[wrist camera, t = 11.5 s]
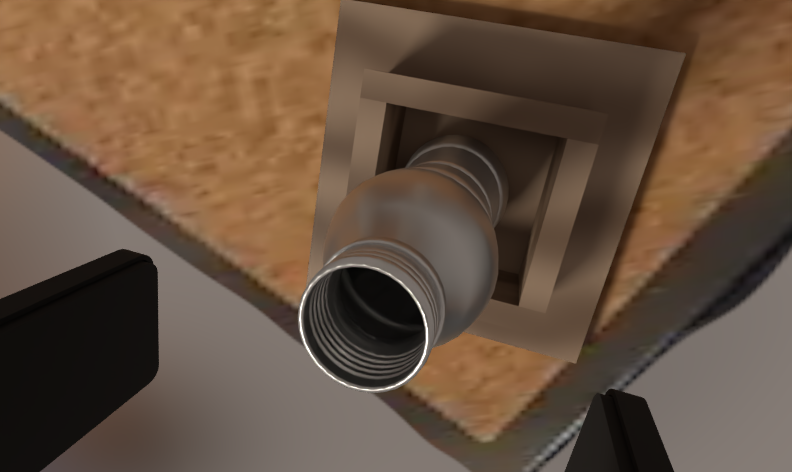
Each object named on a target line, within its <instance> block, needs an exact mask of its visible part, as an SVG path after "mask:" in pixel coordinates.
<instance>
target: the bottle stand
mask: <svg viewBox="0 0 792 472" xmlns="http://www.w3.org/2000/svg"><path fill="white" fill-rule="evenodd" d="M685 55H686V53H681V52H675V51H669V50H663V49H656V48H650V47H644V46H637V45H631V44H625V43H619V42H612V41H606V40H600V39H593V38H587V37H581V36H574V35H568V34H562V33H556V32H549V31H543V30H537V29H530V28H524V27H518V26H512V25H505V24H499V23H493V22H486V21H480V20H474V19H468V18H461V17H455V16H449V15H442V14H436V13H430V12H423V11H417V10H411V9H405V8H398V7H392V6H386V5H379V4H373V3H367V2H361V1H354V0H341V3H340V11H339V19H338V28H337V36H336V44H335V52H334V61H333V69H332V77H331V85H330V94H329V102H328V110H327V118H326V127H325V135H324V143H323V151H322V160H321V168H320V176H319V184H318V193H317V201H316V209H315V217H314V226H313V234H312V242H311V250H310V259H309V267H308V275H307V284H306V287H307V285H308V284H309V282H310V280H311V279H312V278H313V277H314V276H315V275H316V274H317V273H318V271H320V270H321V269H322V268H323V249H324V242H325V239H326V236H327V232H328V229H329V226H330V223H331V220H332V218H333V216H334V214H335V212H336V210H337V208H338V207H339V205H340V203H341V202H342V201H343V200H344V199H345V198H346V196H347V195H348V194H349V193H350V192H351V191H352V190H353V189H355V188H356V187H357V186H359V185H360V184H361V183H362V182H364V181H366V180H368V179H370V178H372V177H374V176H377V175H379V174H382V173H384V172H387V171H392V170H396V169H400V168H405V167H406V165H407V163H408V162H409V160H410V158H411V157H412V155H413V154H414V153H415V152H416V151H417V150H418V149H419V148H420V147H421V146H423V145H424V144H425V143H427V142H429V141H431V140H433V139H435V138H437V137H441V136H445V135H463V136H468V137H471V138H474V139H476V140H479V141H480V142H482V143H483V144H485V145H486V146H488V147H489V148H490V149H491V150H492V151H493V152H494V153H495V154H496V155H497V157H498V158H499V160H500V161H501V163H502V164H503V167H504V169H505V172H506V175H507V180H508V186H509V191H508V201H507V205H506V209H505V211H504V214H503V216H502V218H501V220H500V221H499V222H498V224H497V225H496V227H495V228H494V230H495V235H496V240H497V246H498V277H497V281H496V285H495V290H494V292H493V295H492V297H491V299H490V301H489V303H488V305H487V307H486V308H485V310H484V311H483V312H482V313H481V315H480V316H479V317H478V319H477V320H476V321H475V322H474V323H473V324H472V325H470V326H469V327H468V328H467V329H466V330H465V331H464V332H466V333H469V334H473V335H476V336H480V337H484V338H487V339H491V340H494V341H498V342H501V343H505V344H508V345H512V346H515V347H519V348H523V349H526V350H530V351H533V352H537V353H540V354H544V355H547V356H551V357H555V358H558V359H562V360H565V361H569V362H572V363H576V362H577V359H578V356H579V353H580V350H581V348H582V345H583V342H584V339H585V336H586V334H587V331H588V328H589V325H590V322H591V320H592V317H593V314H594V311H595V308H596V305H597V303H598V300H599V297H600V294H601V291H602V289H603V286H604V283H605V280H606V277H607V275H608V272H609V269H610V266H611V263H612V260H613V258H614V255H615V252H616V249H617V246H618V244H619V241H620V238H621V235H622V232H623V230H624V227H625V224H626V221H627V218H628V215H629V213H630V210H631V207H632V204H633V201H634V199H635V196H636V193H637V190H638V187H639V185H640V182H641V179H642V176H643V173H644V170H645V168H646V165H647V162H648V159H649V156H650V154H651V151H652V148H653V145H654V142H655V140H656V137H657V134H658V131H659V128H660V125H661V123H662V120H663V117H664V114H665V111H666V109H667V106H668V103H669V100H670V97H671V95H672V92H673V89H674V86H675V83H676V80H677V78H678V75H679V72H680V69H681V66H682V64H683V61H684V58H685Z"/></svg>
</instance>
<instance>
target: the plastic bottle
mask: <svg viewBox="0 0 792 472" xmlns="http://www.w3.org/2000/svg"><path fill="white" fill-rule="evenodd" d="M508 191H509V186H508V180H507V175H506V172H505V169H504V167H503V164H502V163H501V161H500V160H499V158H498V157H497V155H496V154H495V153H494V152H493V151H492V150H491V149H490V148H489V147H488V146H486V145H485V144H483V143H482V142H480V141H479V140H476V139H474V138H471V137H468V136H463V135H445V136H441V137H437V138H435V139H433V140H431V141H429V142H427V143H425V144H424V145H423V146H421V147H420V148H419V149H418V150H417V151H416V152H415V153H414V154H413V155H412V157H411V158H410V160H409V162H408V163H407V165H406V167H405V168H400V169H396V170H392V171H387V172H384V173H382V174H379V175H377V176H374V177H372V178H370V179H368V180H366V181H364V182H362V183H361V184H360V185H359V186H357V187H356V188H355V189H353V190H352V191H351V192H350V193H349V194H348V195H347V196H346V198H345V199H344V200H343V201H342V202H341V203H340V205H339V207H338V208H337V210H336V212H335V214H334V216H333V218H332V220H331V223H330V226H329V229H328V232H327V236H326V239H325V242H324V249H323V268H322V269H321V270H320V271H318V273H317V274H316V275H315V276H314V277H313V278H312V279H311V280H310V282H309V284H308V285H307V287H306V289H305V291H304V293H303V295H302V298H301V301H300V304H299V311H298V324H299V332H300V335H301V339H302V342H303V344H304V346H305V348H306V350H307V352H308V354H309V356H310V357H311V358H312V360H313V361H314V363H315V364H316V365H317V366H318V367H319V368H320V369H321V370H322V371H323V372H324V373H325V374H326V375H327V376H328V377H330V378H331V379H333V380H334V381H335V382H337V383H339V384H341V385H343V386H346V387H347V388H350V389H354V390H357V391H361V392H370V393H377V392H386V391H390V390H393V389H397V388H399V387H400V386H402V385H404V384H406V383H408V382H409V381H410V380H411V379H412V378H413V377H415V376H416V375H417V373H418V372H419V371H420V370H421V368H422V367H423V366H424V364H425V363H426V361H427V359H428V356H429V354H430V352H431V349H432V348H433V347H437V346H440V345H443V344H445V343H447V342H449V341H451V340H453V339H454V338H456V337H458V336H459V335H460V334H461V333H462V332H464V331H465V330H466V329H467V328H468V327H469V326H470V325H472V324H473V323H474V322H475V321H476V320H477V319H478V317H479V316H480V315H481V313H482V312H483V311H484V310H485V308H486V307H487V305H488V303H489V301H490V299H491V297H492V295H493V292H494V290H495V285H496V281H497V277H498V246H497V240H496V235H495V230H494V228H495V227H496V225H497V224H498V222H499V221H500V220H501V218H502V216H503V214H504V211H505V209H506V205H507V201H508Z"/></svg>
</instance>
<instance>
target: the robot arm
mask: <svg viewBox="0 0 792 472" xmlns="http://www.w3.org/2000/svg"><path fill="white" fill-rule="evenodd" d="M158 349H159V346H158V272H157V268H156V266H155V265H154V264H153V261H152V259H151V258H150V257H149V256H147V255H144V254H140V253H136V252H133V251H130V250H126V249H121V250H117V251H115V252H113V253H110V254H108V255H105V256H103V257H101V258H98V259H96V260H93V261H91V262H88V263H86V264H84V265H81V266H79V267H76V268H74V269H71V270H69V271H67V272H64V273H62V274H59V275H57V276H55V277H52V278H50V279H48V280H45V281H42V282H40V283H38V284H35V285H33V286H31V287H28V288H26V289H23V290H21V291H18V292H16V293H14V294H11V295H9V296H6V297H4V298H1V299H0V472H40V471H41V470H42V469H44V468H45V467H46V466H47V465H49V464H50V463H51V462H52V461H54V460H55V459H56V458H57V457H59V456H60V455H61V454H62V453H63V452H65V451H66V450H67V449H68V448H70V447H71V446H72V445H73V444H75V443H76V442H77V441H78V440H80V439H81V438H82V437H83V436H85V435H86V434H87V433H88V432H89V431H91V430H92V429H93V428H95V427H96V426H97V425H98V424H99V423H101V422H102V421H103V420H104V419H106V418H107V417H108V416H109V415H111V414H112V413H113V412H114V411H116V410H117V409H118V408H119V407H120V406H122V405H123V404H124V403H125V402H127V401H128V400H129V399H130V398H132V397H133V396H134V395H135V394H137V393H138V392H139V391H140V390H141V389H143V388H144V387H145V386H147V385H148V384H149V383H150V382H151V381H152V380H153V379H154V377H155V376H156V373H157V371H158V367H159V351H158ZM565 472H674V470H673V468H672V465H671V463H670V460H669V458H668V455H667V453H666V450H665V448H664V445H663V442H662V440H661V437H660V435H659V432H658V430H657V427H656V425H655V422H654V420H653V417H652V415H651V412H650V410H649V407H648V404H647V402H646V400H645V399H644V398H642V397H639V396H635V395H632V394H628V393H625V392H622V391H618V390H615V389H609V390H608V391H607V392H606V394H605V395H603V394H600V393H597V394H596V395H595V396H594V398H593V400H592V403H591V405H590V408H589V410H588V413H587V416H586V418H585V421H584V423H583V426H582V428H581V431H580V433H579V436H578V439H577V441H576V444H575V446H574V449H573V451H572V454H571V457H570V459H569V462H568V464H567V467H566V469H565Z"/></svg>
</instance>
